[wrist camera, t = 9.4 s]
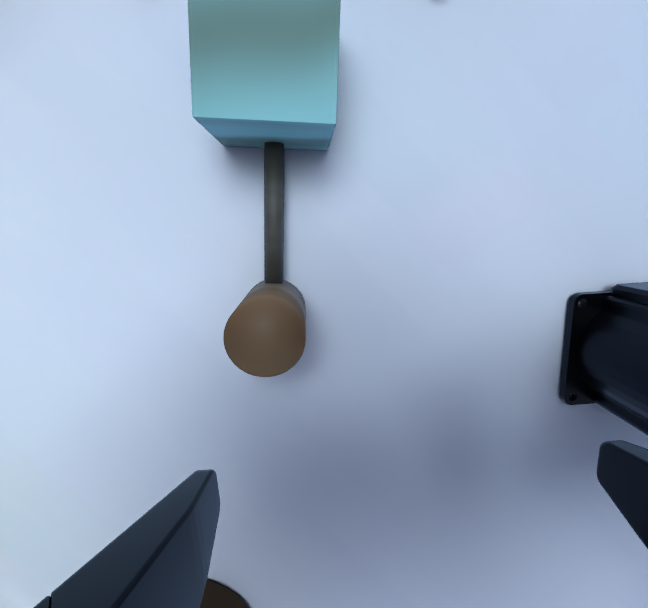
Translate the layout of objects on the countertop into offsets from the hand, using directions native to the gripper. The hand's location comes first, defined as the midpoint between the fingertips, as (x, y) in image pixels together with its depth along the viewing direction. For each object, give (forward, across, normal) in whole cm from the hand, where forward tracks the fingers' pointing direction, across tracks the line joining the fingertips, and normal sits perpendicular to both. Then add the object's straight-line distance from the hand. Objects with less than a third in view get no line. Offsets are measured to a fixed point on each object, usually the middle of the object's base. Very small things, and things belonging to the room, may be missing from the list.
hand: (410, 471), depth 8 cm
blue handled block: (+12, +4, -7) cm, 14 cm away
